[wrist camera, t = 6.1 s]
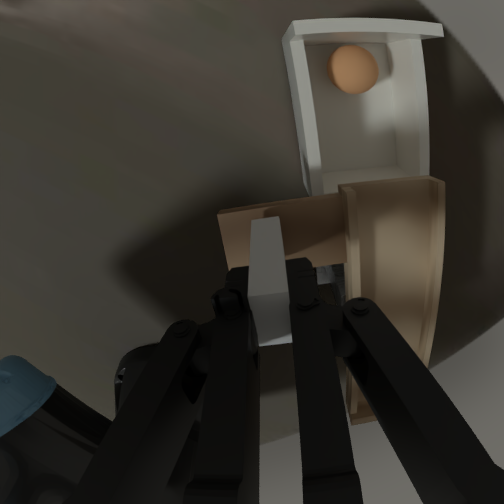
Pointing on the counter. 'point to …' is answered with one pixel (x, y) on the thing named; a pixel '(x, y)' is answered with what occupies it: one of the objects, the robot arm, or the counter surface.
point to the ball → (352, 69)
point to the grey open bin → (359, 102)
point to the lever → (364, 251)
